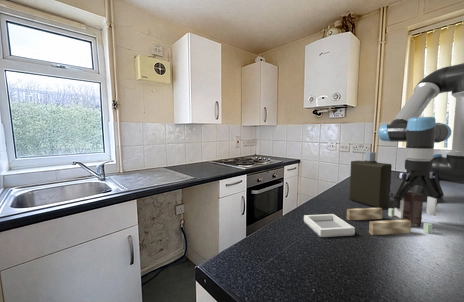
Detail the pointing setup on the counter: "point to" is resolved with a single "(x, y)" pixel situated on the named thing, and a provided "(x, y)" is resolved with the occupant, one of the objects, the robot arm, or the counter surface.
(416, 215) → the box
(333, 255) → the counter surface
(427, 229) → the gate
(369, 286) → the counter surface
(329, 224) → the tray
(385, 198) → the bottle
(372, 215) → the channel
